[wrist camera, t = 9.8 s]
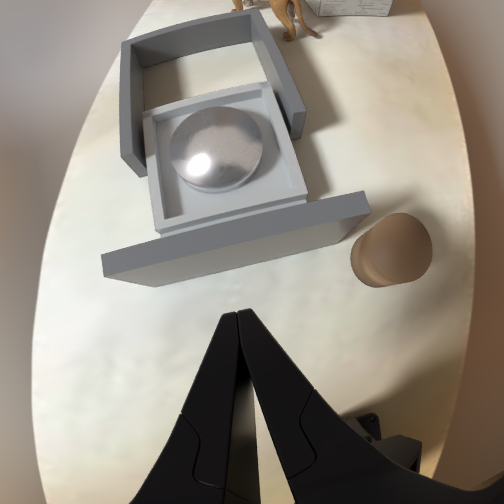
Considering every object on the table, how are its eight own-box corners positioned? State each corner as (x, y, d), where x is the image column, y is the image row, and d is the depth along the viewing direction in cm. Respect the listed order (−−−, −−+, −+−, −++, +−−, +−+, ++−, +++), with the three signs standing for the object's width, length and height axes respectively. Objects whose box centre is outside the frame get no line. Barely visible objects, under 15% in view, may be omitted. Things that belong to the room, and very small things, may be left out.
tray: (335, 243, 22) (371, 212, 14) (154, 287, 22) (104, 276, 14) (284, 93, 25) (289, 28, 17) (135, 130, 25) (98, 76, 17)
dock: (300, 138, 24) (306, 110, 20) (139, 177, 24) (120, 156, 20) (258, 35, 27) (257, 8, 23) (133, 66, 27) (121, 42, 23)
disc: (251, 109, 24) (250, 98, 22) (272, 182, 22) (273, 173, 21) (170, 129, 24) (164, 119, 22) (181, 204, 22) (175, 196, 21)
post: (407, 279, 22) (439, 271, 17) (358, 294, 22) (383, 290, 17) (392, 226, 23) (420, 207, 18) (343, 238, 23) (363, 220, 18)
